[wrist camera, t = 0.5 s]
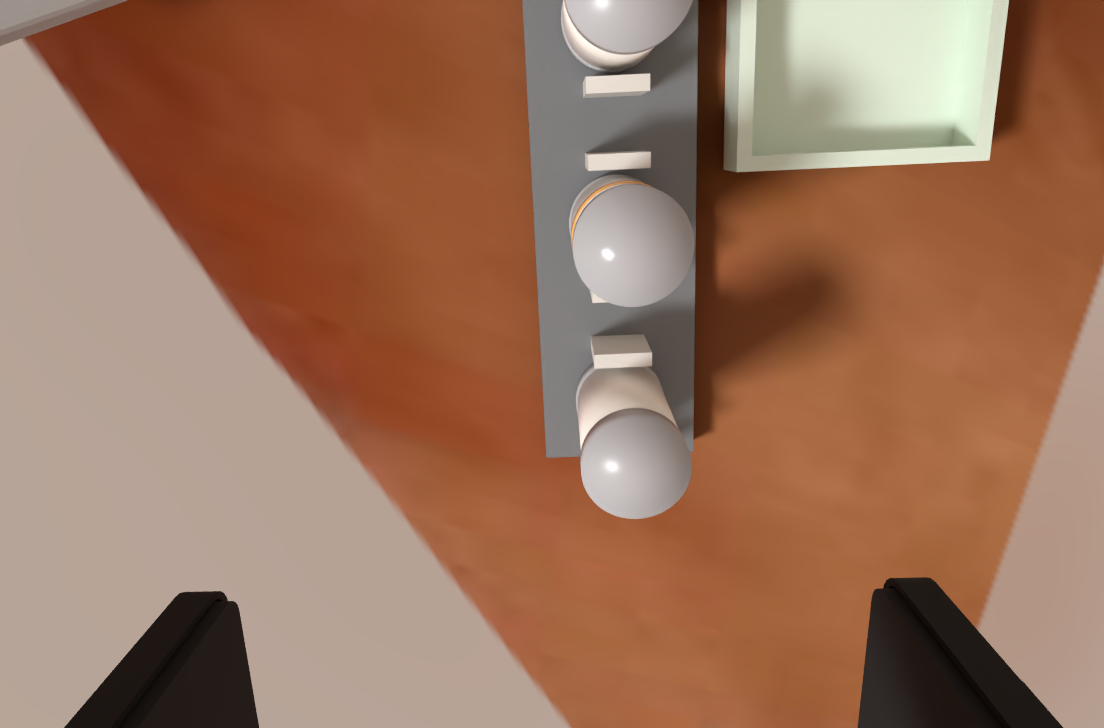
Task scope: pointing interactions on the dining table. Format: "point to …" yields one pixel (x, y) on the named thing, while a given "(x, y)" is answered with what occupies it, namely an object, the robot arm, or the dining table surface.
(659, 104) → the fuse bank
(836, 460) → the dining table surface
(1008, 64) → the dining table surface
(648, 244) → the cylinder
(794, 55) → the tray
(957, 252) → the dining table surface
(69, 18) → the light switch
